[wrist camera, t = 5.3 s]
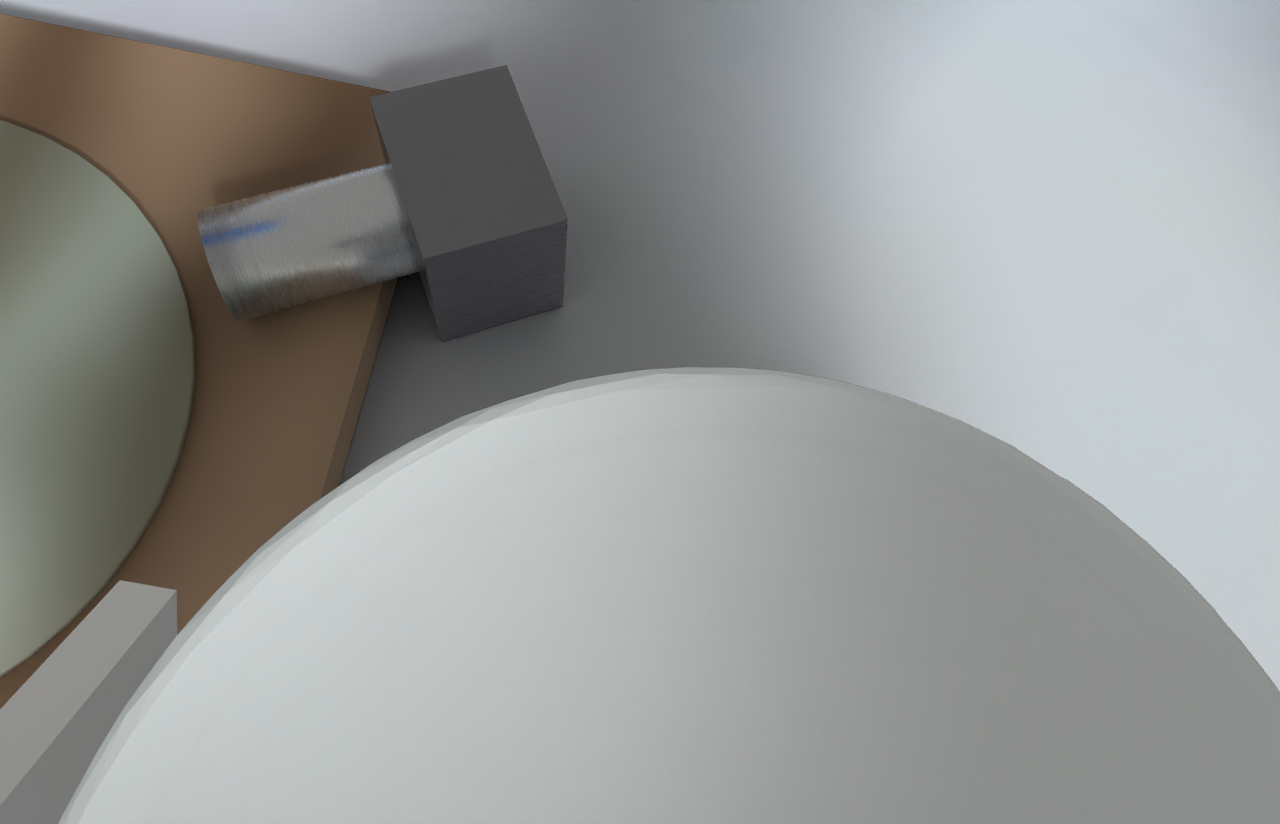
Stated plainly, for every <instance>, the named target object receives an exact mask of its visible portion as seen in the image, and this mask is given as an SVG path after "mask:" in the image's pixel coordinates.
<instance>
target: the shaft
mask: <svg viewBox="0 0 1280 824" xmlns="http://www.w3.org/2000/svg"><path fill="white" fill-rule="evenodd" d="M369 100H370V104H371V108H372V112H373V116H374V120H375V124H376V128H377V132H378V136H379V140H380V144H381V148H382V152H383V156H384V160H385V164H381V165H377V166H373V167H369V168H365V169H361V170H357V171H353V172H349V173H345V174H341V175H337V176H333V177H329V178H325V179H321V180H317V181H312V182H308V183H304V184H300V185H296V186H292V187H288V188H284V189H280V190H276V191H272V192H268V193H264V194H260V195H256V196H252V197H248V198H244V199H240V200H236V201H232V202H228V203H224V204H220V205H216V206H212V207H208V208H204V209H200V210H197V224H198V229H199V233H200V237H201V241H202V244H203V248H204V251H205V254H206V257H207V260H208V263H209V266H210V269H211V271H212V274H213V277H214V279H215V282H216V284H217V287H218V289H219V291H220V293H221V296H222V298H223V300H224V302H225V304H226V306H227V308H228V310H229V311H230V313H231V315H232V316H233V318H234V319H235V320H236V321H241V320H245V319H248V318H252V317H256V316H259V315H263V314H267V313H270V312H274V311H277V310H281V309H285V308H288V307H292V306H296V305H299V304H303V303H307V302H310V301H314V300H317V299H321V298H325V297H328V296H332V295H336V294H339V293H343V292H346V291H350V290H354V289H357V288H361V287H365V286H368V285H372V284H376V283H379V282H383V281H386V280H390V279H394V278H397V277H401V276H405V275H408V274H412V273H416V272H419V275H420V278H421V281H422V284H423V287H424V290H425V293H426V295H427V298H428V301H429V304H430V307H431V310H432V313H433V316H434V319H435V322H436V325H437V328H438V331H439V334H440V337H441V340H442V341H446V340H449V339H453V338H456V337H460V336H463V335H466V334H470V333H473V332H477V331H480V330H484V329H487V328H490V327H494V326H497V325H501V324H504V323H507V322H511V321H514V320H518V319H521V318H525V317H528V316H531V315H535V314H538V313H542V312H545V311H549V310H552V309H555V308H559V307H562V305H563V288H564V270H565V252H566V234H567V218H566V215H565V213H564V210H563V208H562V205H561V203H560V200H559V198H558V195H557V193H556V190H555V187H554V185H553V182H552V180H551V177H550V175H549V172H548V170H547V167H546V165H545V162H544V160H543V157H542V154H541V152H540V149H539V147H538V144H537V142H536V139H535V137H534V134H533V132H532V129H531V127H530V124H529V121H528V119H527V116H526V114H525V111H524V109H523V106H522V104H521V101H520V99H519V96H518V94H517V91H516V88H515V86H514V83H513V81H512V78H511V76H510V73H509V71H508V68H507V66H506V65H505V66H501V67H497V68H493V69H488V70H484V71H480V72H476V73H471V74H467V75H463V76H459V77H454V78H450V79H446V80H442V81H437V82H433V83H429V84H424V85H420V86H416V87H412V88H407V89H403V90H399V91H395V92H390V93H386V94H382V95H378V96H373V97H369Z"/></svg>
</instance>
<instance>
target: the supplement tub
mask: <svg viewBox="0 0 1280 824" xmlns="http://www.w3.org/2000/svg"><path fill="white" fill-rule="evenodd" d="M59 824H1280V692H1279V690H1278V689H1277V687H1276V686H1275V684H1274V683H1273V682H1272V680H1271V679H1270V678H1269V676H1268V675H1267V674H1266V672H1265V671H1264V670H1263V669H1262V667H1261V666H1260V665H1259V663H1258V662H1257V661H1256V659H1255V658H1254V657H1253V656H1252V654H1251V653H1250V652H1249V650H1248V649H1247V648H1246V647H1245V645H1244V644H1243V643H1242V641H1241V640H1240V639H1239V638H1238V637H1237V636H1236V635H1235V634H1234V633H1233V632H1232V630H1231V629H1230V628H1229V627H1228V626H1227V625H1226V623H1225V622H1224V621H1223V620H1222V618H1221V617H1220V616H1219V615H1218V613H1217V612H1216V611H1215V610H1214V608H1213V607H1212V606H1211V605H1210V604H1209V603H1208V602H1207V601H1206V600H1205V599H1204V598H1203V596H1202V595H1201V594H1200V593H1199V592H1198V591H1197V590H1196V589H1195V588H1194V587H1193V586H1192V585H1191V584H1190V582H1189V581H1188V580H1187V579H1186V578H1185V577H1184V576H1183V575H1182V574H1181V573H1180V572H1179V571H1178V570H1176V569H1175V568H1174V567H1173V566H1172V565H1171V564H1170V563H1169V562H1168V561H1167V560H1166V559H1165V558H1164V557H1162V556H1161V555H1160V554H1159V553H1158V552H1157V551H1156V550H1155V549H1154V548H1153V547H1152V546H1151V545H1149V544H1148V543H1147V542H1146V541H1145V540H1144V539H1143V538H1141V537H1140V536H1139V535H1138V534H1137V533H1136V532H1134V531H1133V530H1132V529H1131V528H1130V527H1128V526H1127V525H1126V524H1125V523H1124V522H1122V521H1121V520H1120V519H1119V518H1118V517H1117V516H1115V515H1114V514H1113V513H1112V512H1111V511H1109V510H1108V509H1107V508H1106V507H1105V506H1104V505H1102V504H1101V503H1099V502H1098V501H1097V500H1095V499H1094V498H1092V497H1091V496H1090V495H1088V494H1087V493H1085V492H1084V491H1082V490H1081V489H1080V488H1078V487H1077V486H1075V485H1074V484H1073V483H1071V482H1070V481H1068V480H1066V479H1064V478H1062V477H1060V476H1059V475H1057V474H1055V473H1054V472H1052V471H1051V470H1049V469H1048V468H1046V467H1045V466H1043V465H1041V464H1040V463H1038V462H1037V461H1035V460H1034V459H1032V458H1031V457H1029V456H1027V455H1026V454H1024V453H1023V452H1021V451H1020V450H1018V449H1017V448H1015V447H1013V446H1012V445H1010V444H1008V443H1005V442H1003V441H1001V440H999V439H997V438H995V437H993V436H991V435H989V434H987V433H985V432H983V431H981V430H979V429H977V428H975V427H973V426H971V425H969V424H967V423H965V422H963V421H960V420H958V419H955V418H952V417H950V416H947V415H945V414H942V413H940V412H937V411H934V410H932V409H929V408H926V407H924V406H921V405H919V404H916V403H913V402H911V401H908V400H905V399H903V398H900V397H897V396H893V395H890V394H887V393H883V392H880V391H877V390H873V389H869V388H865V387H861V386H857V385H853V384H849V383H845V382H841V381H837V380H832V379H826V378H820V377H814V376H808V375H802V374H796V373H790V372H784V371H775V370H762V369H749V368H723V367H679V368H663V369H647V370H638V371H631V372H624V373H617V374H610V375H604V376H599V377H593V378H587V379H581V380H575V381H571V382H568V383H565V384H561V385H558V386H555V387H551V388H548V389H544V390H541V391H538V392H534V393H531V394H528V395H524V396H521V397H517V398H514V399H511V400H507V401H505V402H502V403H499V404H496V405H493V406H490V407H487V408H484V409H482V410H479V411H476V412H473V413H470V414H467V415H464V416H462V417H460V418H458V419H456V420H454V421H452V422H449V423H447V424H445V425H443V426H441V427H439V428H437V429H435V430H433V431H431V432H428V433H426V434H424V435H422V436H420V437H418V438H416V439H414V440H412V441H410V442H408V443H407V444H405V445H403V446H401V447H400V448H398V449H396V450H394V451H392V452H391V453H389V454H387V455H385V456H383V457H382V458H380V459H378V460H376V461H375V462H373V463H372V464H370V465H369V466H367V467H366V468H365V469H363V470H362V471H360V472H359V473H357V474H356V475H354V476H353V477H351V478H350V479H349V480H347V481H346V482H344V483H343V484H341V485H340V486H338V487H337V488H336V489H334V490H333V491H331V492H330V493H328V494H327V495H325V496H324V497H323V498H321V499H320V500H318V501H317V502H315V503H314V504H312V505H311V506H310V507H308V508H307V509H306V510H305V511H303V512H302V513H301V514H300V515H298V516H297V517H296V518H295V519H293V520H292V521H291V522H290V523H288V524H287V525H286V526H285V527H284V528H282V529H281V530H280V531H279V532H278V533H277V534H275V535H274V536H273V537H272V538H271V539H269V540H268V541H267V542H266V543H265V544H264V545H262V546H261V547H260V548H259V549H258V550H257V551H256V552H255V553H254V554H253V555H252V556H251V557H250V558H249V559H248V560H247V561H246V562H245V563H244V564H243V565H242V566H241V567H240V568H239V569H238V570H237V571H236V572H235V573H234V574H233V575H232V576H231V577H230V578H229V579H228V580H227V581H226V582H225V583H224V584H223V585H222V586H221V587H220V588H219V589H218V590H217V591H216V592H215V593H214V594H213V595H212V597H211V598H210V599H209V600H208V601H207V602H206V603H205V604H204V605H203V607H202V608H201V609H200V610H199V611H198V612H197V613H196V615H195V616H194V617H193V618H192V619H191V620H190V621H189V622H188V624H187V625H186V626H185V627H184V628H183V629H182V630H181V632H180V633H179V634H178V635H177V636H176V637H175V639H174V640H173V641H172V643H171V644H170V645H169V647H168V648H167V649H166V651H165V652H164V653H163V655H162V656H161V657H160V659H159V660H158V661H157V663H156V664H155V665H154V666H153V668H152V669H151V671H150V672H149V673H148V675H147V676H146V678H145V679H144V680H143V682H142V683H141V685H140V686H139V687H138V689H137V690H136V692H135V693H134V694H133V696H132V697H131V699H130V700H129V701H128V703H127V704H126V706H125V707H124V709H123V710H122V712H121V714H120V715H119V717H118V719H117V720H116V722H115V723H114V725H113V727H112V728H111V730H110V732H109V733H108V735H107V736H106V738H105V740H104V741H103V743H102V745H101V746H100V748H99V749H98V751H97V753H96V755H95V757H94V758H93V760H92V762H91V764H90V766H89V768H88V769H87V771H86V773H85V775H84V777H83V778H82V780H81V782H80V784H79V786H78V787H77V789H76V791H75V793H74V795H73V797H72V798H71V800H70V802H69V804H68V806H67V807H66V809H65V811H64V813H63V815H62V817H61V819H60V822H59Z"/></svg>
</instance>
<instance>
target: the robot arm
mask: <svg viewBox="0 0 1280 824" xmlns="http://www.w3.org/2000/svg"><path fill="white" fill-rule="evenodd" d="M176 636H177V590H173V589H167V588H162V587H156V586H150V585H145V584H139V583H133V582H128V581H122V580H120V581H119V582H118V583H117V584H116V585H115V586H114V587H113V588H112V589H111V590H110V591H109V593H108V594H107V595H106V596H105V597H104V598H103V599H102V600H101V601H100V602H99V603H98V604H97V605H96V607H95V608H94V609H93V610H92V611H91V612H90V613H89V614H88V615H87V616H86V617H85V618H84V620H83V621H82V622H81V623H80V624H79V625H78V626H77V627H76V628H75V629H74V630H73V631H72V632H71V634H70V635H69V636H68V637H67V638H66V639H65V640H64V641H63V642H62V643H61V644H60V645H59V647H58V648H57V649H56V650H55V651H54V652H53V653H52V654H51V655H50V656H49V657H48V658H47V659H46V661H45V662H44V663H43V664H42V665H41V666H40V667H39V668H38V669H37V670H36V671H35V672H34V674H33V675H32V676H31V677H30V678H29V679H28V680H27V681H26V682H25V683H24V684H23V685H22V686H21V688H20V689H19V690H18V691H17V692H16V693H15V694H14V695H13V696H12V697H11V698H10V699H9V701H8V702H7V703H6V704H5V705H4V706H3V707H2V708H1V709H0V824H59V822H60V819H61V817H62V815H63V813H64V811H65V809H66V807H67V806H68V804H69V802H70V800H71V798H72V797H73V795H74V793H75V791H76V789H77V787H78V786H79V784H80V782H81V780H82V778H83V777H84V775H85V773H86V771H87V769H88V768H89V766H90V764H91V762H92V760H93V758H94V757H95V755H96V753H97V751H98V749H99V748H100V746H101V745H102V743H103V741H104V740H105V738H106V736H107V735H108V733H109V732H110V730H111V728H112V727H113V725H114V723H115V722H116V720H117V719H118V717H119V715H120V714H121V712H122V710H123V709H124V707H125V706H126V704H127V703H128V701H129V700H130V699H131V697H132V696H133V694H134V693H135V692H136V690H137V689H138V687H139V686H140V685H141V683H142V682H143V680H144V679H145V678H146V676H147V675H148V673H149V672H150V671H151V669H152V668H153V666H154V665H155V664H156V663H157V661H158V660H159V659H160V657H161V656H162V655H163V653H164V652H165V651H166V649H167V648H168V647H169V645H170V644H171V643H172V641H173V640H174V639H175V637H176Z"/></svg>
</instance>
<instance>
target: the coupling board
mask: <svg viewBox="0 0 1280 824" xmlns="http://www.w3.org/2000/svg"><path fill="white" fill-rule="evenodd" d="M386 93H390V92H389V91H384V90H379V89H374V88H369V87H364V86H359V85H354V84H349V83H344V82H339V81H334V80H329V79H324V78H319V77H314V76H309V75H304V74H299V73H294V72H289V71H284V70H279V69H274V68H269V67H264V66H259V65H254V64H249V63H244V62H239V61H234V60H229V59H224V58H219V57H214V56H209V55H204V54H199V53H194V52H189V51H184V50H179V49H174V48H169V47H164V46H159V45H154V44H149V43H144V42H139V41H134V40H129V39H124V38H119V37H114V36H109V35H104V34H99V33H94V32H89V31H84V30H79V29H74V28H69V27H64V26H59V25H54V24H49V23H44V22H39V21H34V20H29V19H24V18H19V17H14V16H9V15H4V14H0V709H1V708H2V707H3V706H4V705H5V704H6V703H7V702H8V701H9V699H10V698H11V697H12V696H13V695H14V694H15V693H16V692H17V691H18V690H19V689H20V688H21V686H22V685H23V684H24V683H25V682H26V681H27V680H28V679H29V678H30V677H31V676H32V675H33V674H34V672H35V671H36V670H37V669H38V668H39V667H40V666H41V665H42V664H43V663H44V662H45V661H46V659H47V658H48V657H49V656H50V655H51V654H52V653H53V652H54V651H55V650H56V649H57V648H58V647H59V645H60V644H61V643H62V642H63V641H64V640H65V639H66V638H67V637H68V636H69V635H70V634H71V632H72V631H73V630H74V629H75V628H76V627H77V626H78V625H79V624H80V623H81V622H82V621H83V620H84V618H85V617H86V616H87V615H88V614H89V613H90V612H91V611H92V610H93V609H94V608H95V607H96V605H97V604H98V603H99V602H100V601H101V600H102V599H103V598H104V597H105V596H106V595H107V594H108V593H109V591H110V590H111V589H112V588H113V587H114V586H115V585H116V584H117V583H118V582H119V581H120V580H122V581H128V582H133V583H139V584H145V585H150V586H156V587H162V588H167V589H173V590H177V635H178V634H179V633H180V632H181V630H182V629H183V628H184V627H185V626H186V625H187V624H188V622H189V621H190V620H191V619H192V618H193V617H194V616H195V615H196V613H197V612H198V611H199V610H200V609H201V608H202V607H203V605H204V604H205V603H206V602H207V601H208V600H209V599H210V598H211V597H212V595H213V594H214V593H215V592H216V591H217V590H218V589H219V588H220V587H221V586H222V585H223V584H224V583H225V582H226V581H227V580H228V579H229V578H230V577H231V576H232V575H233V574H234V573H235V572H236V571H237V570H238V569H239V568H240V567H241V566H242V565H243V564H244V563H245V562H246V561H247V560H248V559H249V558H250V557H251V556H252V555H253V554H254V553H255V552H256V551H257V550H258V549H259V548H260V547H261V546H262V545H264V544H265V543H266V542H267V541H268V540H269V539H271V538H272V537H273V536H274V535H275V534H277V533H278V532H279V531H280V530H281V529H282V528H284V527H285V526H286V525H287V524H288V523H290V522H291V521H292V520H293V519H295V518H296V517H297V516H298V515H300V514H301V513H302V512H303V511H305V510H306V509H307V508H308V507H310V506H311V505H312V504H314V503H315V502H317V501H318V500H320V499H321V498H323V497H324V496H325V495H327V494H328V493H330V492H331V491H333V490H334V489H336V488H337V487H338V486H339V484H340V481H341V477H342V474H343V470H344V467H345V463H346V460H347V456H348V453H349V449H350V446H351V442H352V439H353V435H354V432H355V428H356V425H357V421H358V418H359V414H360V411H361V407H362V404H363V400H364V397H365V393H366V390H367V386H368V383H369V379H370V376H371V372H372V369H373V365H374V362H375V358H376V355H377V351H378V348H379V344H380V341H381V337H382V334H383V330H384V327H385V323H386V320H387V316H388V313H389V309H390V306H391V302H392V299H393V295H394V292H395V288H396V285H397V281H398V278H399V277H397V278H394V279H390V280H386V281H383V282H379V283H376V284H372V285H368V286H365V287H361V288H357V289H354V290H350V291H346V292H343V293H339V294H336V295H332V296H328V297H325V298H321V299H317V300H314V301H310V302H307V303H303V304H299V305H296V306H292V307H288V308H285V309H281V310H277V311H274V312H270V313H267V314H263V315H259V316H256V317H252V318H248V319H245V320H241V321H236V320H235V319H234V318H233V316H232V315H231V313H230V311H229V310H228V308H227V306H226V304H225V302H224V300H223V298H222V296H221V293H220V291H219V289H218V287H217V284H216V282H215V279H214V277H213V274H212V271H211V269H210V266H209V263H208V260H207V257H206V254H205V251H204V248H203V244H202V241H201V237H200V233H199V229H198V224H197V210H200V209H204V208H208V207H212V206H216V205H220V204H224V203H228V202H232V201H236V200H240V199H244V198H248V197H252V196H256V195H260V194H264V193H268V192H272V191H276V190H280V189H284V188H288V187H292V186H296V185H300V184H304V183H308V182H312V181H317V180H321V179H325V178H329V177H333V176H337V175H341V174H345V173H349V172H353V171H357V170H361V169H365V168H369V167H373V166H377V165H381V164H385V160H384V156H383V152H382V148H381V144H380V140H379V136H378V132H377V128H376V124H375V120H374V116H373V112H372V108H371V104H370V100H369V97H373V96H378V95H382V94H386Z"/></svg>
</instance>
